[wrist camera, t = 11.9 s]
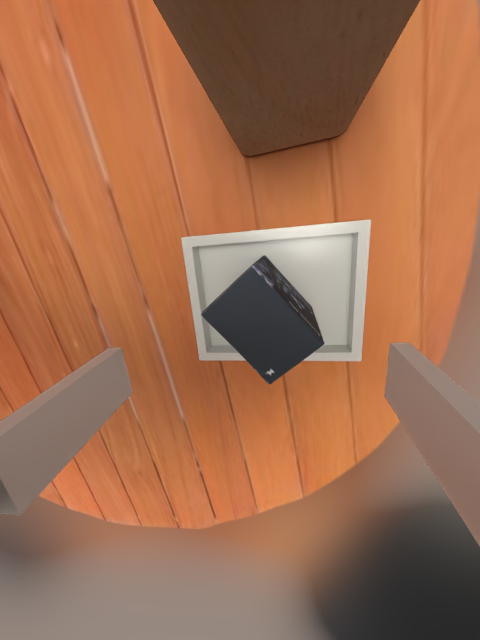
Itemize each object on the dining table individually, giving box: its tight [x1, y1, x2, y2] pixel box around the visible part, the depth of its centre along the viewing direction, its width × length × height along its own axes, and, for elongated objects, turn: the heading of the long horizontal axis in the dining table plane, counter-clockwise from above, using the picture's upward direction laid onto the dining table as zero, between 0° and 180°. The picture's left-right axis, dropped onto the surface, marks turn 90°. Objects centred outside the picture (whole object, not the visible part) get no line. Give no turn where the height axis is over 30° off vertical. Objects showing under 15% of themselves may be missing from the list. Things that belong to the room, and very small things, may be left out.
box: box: [201, 255, 325, 384], centre depth 23 cm, size 8×6×11 cm
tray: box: [181, 220, 371, 361], centre depth 28 cm, size 18×14×3 cm
